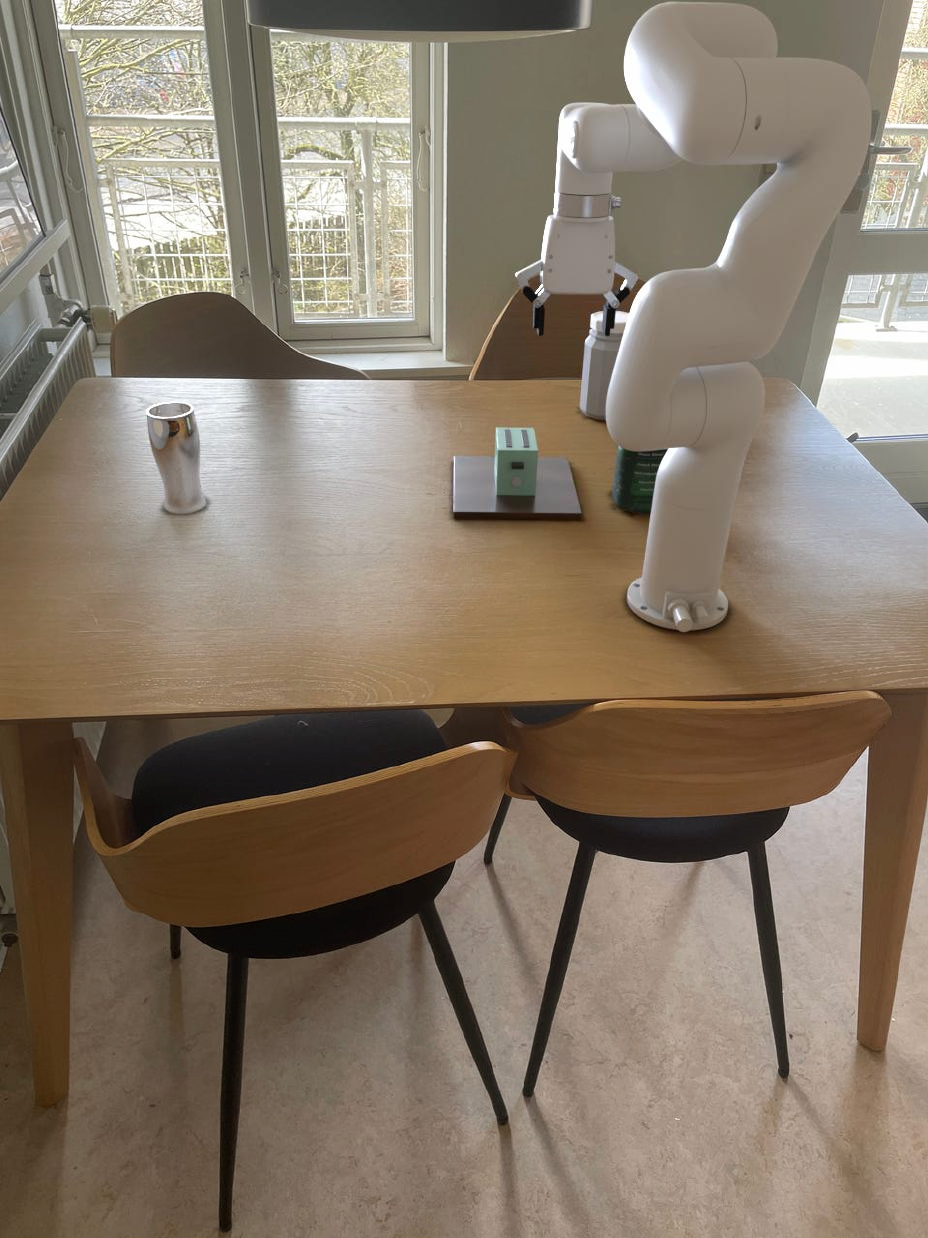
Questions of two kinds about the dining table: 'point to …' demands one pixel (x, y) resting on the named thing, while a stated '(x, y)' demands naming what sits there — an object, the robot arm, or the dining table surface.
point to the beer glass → (177, 455)
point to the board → (482, 502)
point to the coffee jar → (636, 479)
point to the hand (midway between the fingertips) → (572, 333)
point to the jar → (600, 364)
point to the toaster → (515, 461)
